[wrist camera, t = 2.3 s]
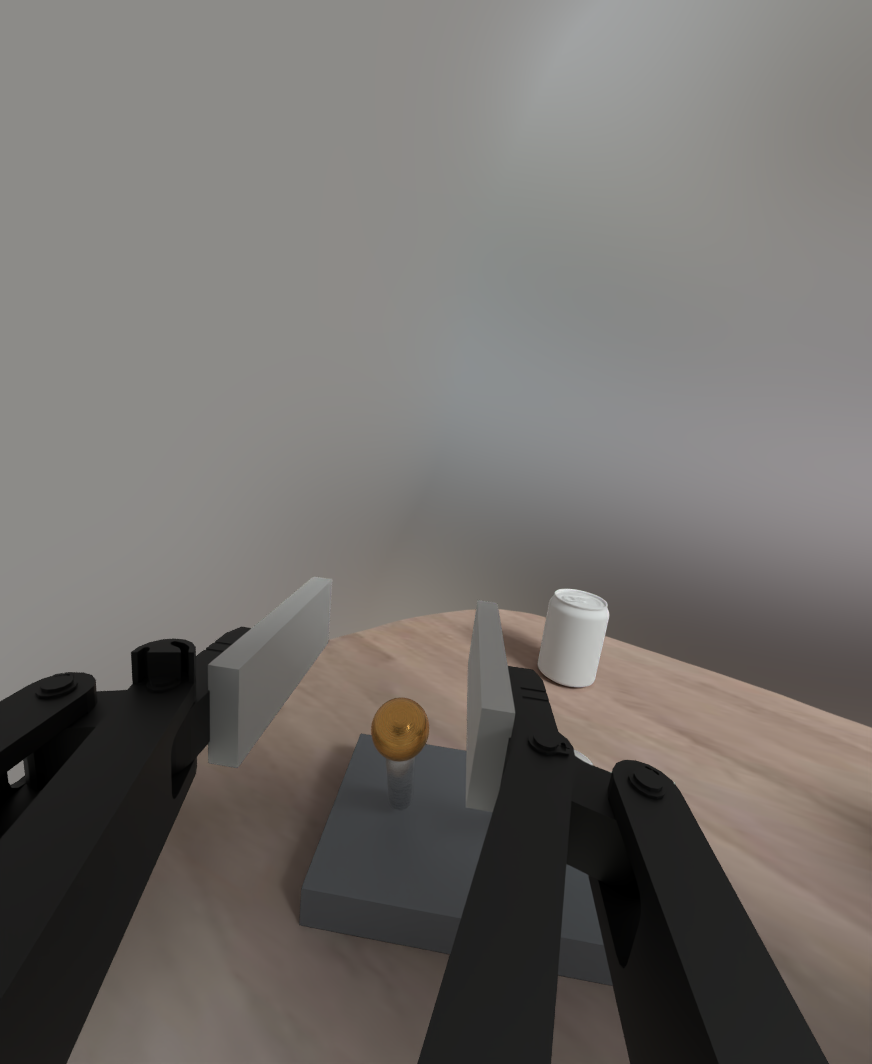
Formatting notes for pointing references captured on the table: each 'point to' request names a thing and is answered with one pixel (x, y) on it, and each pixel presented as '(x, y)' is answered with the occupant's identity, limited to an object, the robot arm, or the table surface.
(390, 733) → the steel toggle lever
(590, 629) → the beverage can
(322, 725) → the table surface
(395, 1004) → the table surface
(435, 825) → the switch panel
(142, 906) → the table surface
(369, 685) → the table surface
